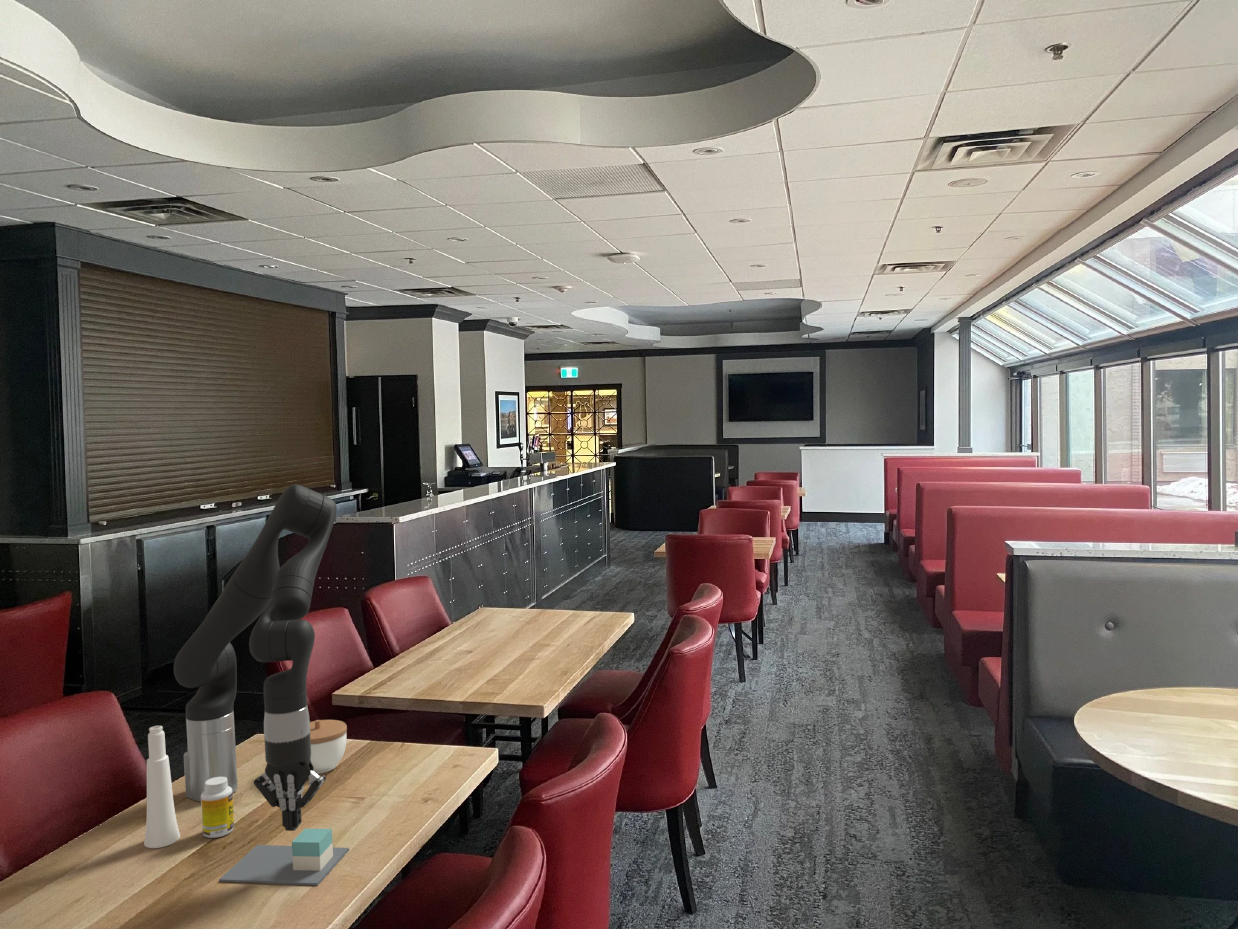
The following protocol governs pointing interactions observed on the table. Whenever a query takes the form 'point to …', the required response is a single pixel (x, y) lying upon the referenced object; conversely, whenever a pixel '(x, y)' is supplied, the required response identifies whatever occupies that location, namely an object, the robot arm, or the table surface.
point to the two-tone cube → (312, 849)
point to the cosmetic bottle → (159, 794)
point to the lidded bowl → (327, 744)
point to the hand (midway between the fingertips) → (292, 828)
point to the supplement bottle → (217, 808)
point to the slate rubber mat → (277, 867)
